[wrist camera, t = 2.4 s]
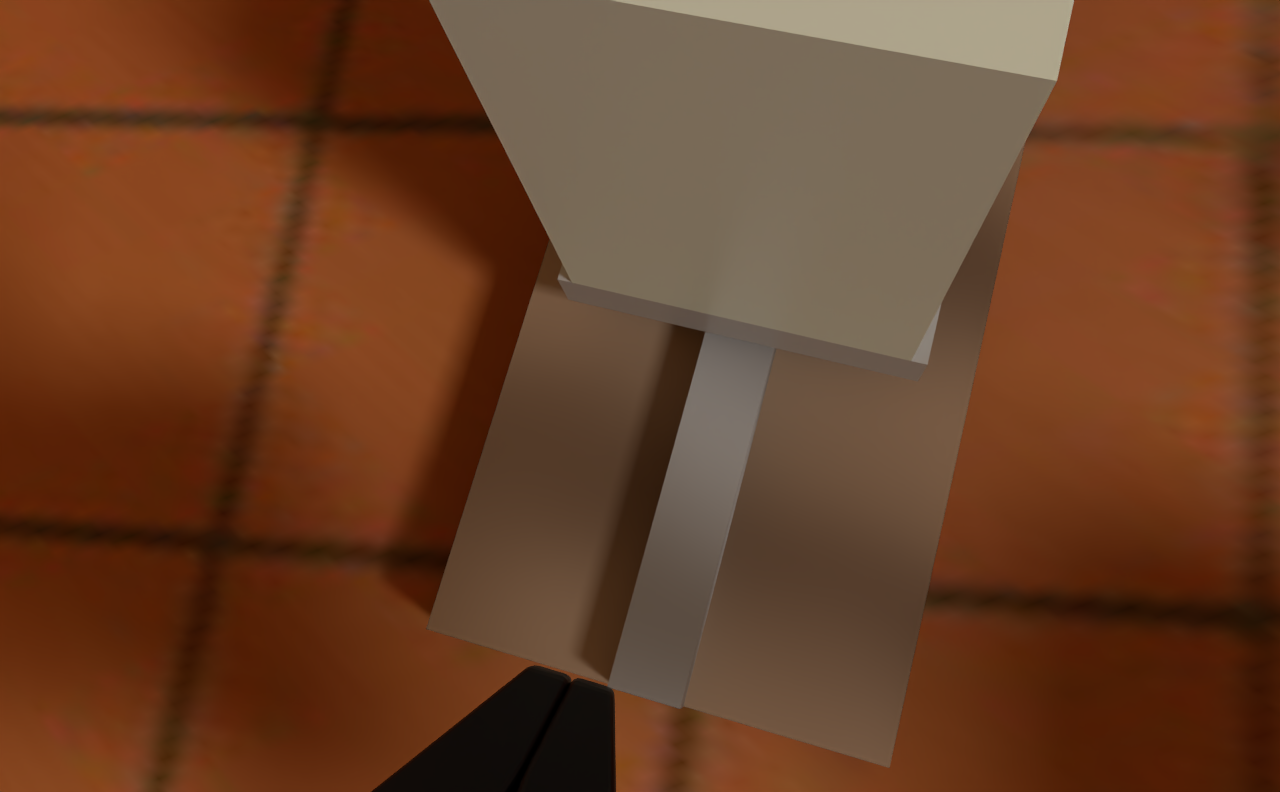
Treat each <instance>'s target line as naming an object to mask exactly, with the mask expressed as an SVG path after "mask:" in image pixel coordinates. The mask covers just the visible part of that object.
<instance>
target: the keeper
mask: <svg viewBox="0 0 1280 792" xmlns="http://www.w3.org/2000/svg"><path fill="white" fill-rule="evenodd" d="M429 1H430V3H431V5H432V7H433V9H434V11H435V13H436V15H437V17H438V19H439V21H440V23H441V25H442V27H443V29H444V31H445V33H446V35H447V37H448V39H449V41H450V43H451V45H452V47H453V49H454V51H455V53H456V55H457V57H458V58H459V60H460V62H461V64H462V66H463V68H464V70H465V72H466V74H467V76H468V78H469V80H470V82H471V84H472V86H473V88H474V90H475V92H476V94H477V96H478V98H479V100H480V102H481V104H482V106H483V108H484V110H485V112H486V114H487V116H488V118H489V120H490V122H491V124H492V126H493V128H494V130H495V132H496V134H497V136H498V138H499V140H500V141H501V143H502V145H503V147H504V149H505V151H506V153H507V155H508V157H509V159H510V161H511V163H512V165H513V167H514V169H515V171H516V173H517V175H518V177H519V179H520V181H521V183H522V185H523V187H524V189H525V191H526V193H527V195H528V197H529V199H530V201H531V203H532V205H533V207H534V209H535V211H536V213H537V215H538V217H539V219H540V221H541V222H542V224H543V226H544V228H545V230H546V232H547V234H548V236H549V238H550V240H551V242H552V244H553V246H554V248H555V250H556V252H557V254H558V256H559V258H560V260H561V262H562V266H561V269H560V273H559V276H558V281H559V283H560V285H561V287H562V289H563V291H564V292H565V294H566V296H567V298H568V300H572V301H576V302H581V303H585V304H589V305H593V306H598V307H602V308H606V309H610V310H615V311H619V312H623V313H628V314H632V315H636V316H640V317H645V318H649V319H653V320H657V321H662V322H666V323H670V324H674V325H679V326H683V327H687V328H692V329H696V330H700V331H704V332H709V333H713V334H717V335H721V336H726V337H730V338H734V339H739V340H743V341H747V342H751V343H756V344H760V345H764V346H768V347H773V348H777V349H781V350H785V351H790V352H794V353H798V354H803V355H807V356H811V357H815V358H820V359H824V360H828V361H832V362H837V363H841V364H845V365H849V366H854V367H858V368H862V369H867V370H871V371H875V372H879V373H884V374H888V375H892V376H896V377H901V378H905V379H909V380H914V381H918V380H919V378H920V377H921V375H922V373H923V372H924V370H925V368H926V366H927V365H928V360H929V356H930V351H931V347H932V343H933V338H934V334H935V330H936V325H937V321H938V316H939V312H940V308H941V303H942V301H943V299H944V297H945V295H946V293H947V291H948V289H949V287H950V285H951V283H952V281H953V280H954V278H955V276H956V274H957V272H958V270H959V268H960V266H961V264H962V262H963V260H964V258H965V256H966V255H967V253H968V251H969V249H970V247H971V245H972V243H973V241H974V239H975V237H976V235H977V233H978V231H979V230H980V228H981V226H982V224H983V222H984V220H985V218H986V216H987V214H988V212H989V210H990V208H991V206H992V205H993V203H994V201H995V199H996V197H997V195H998V193H999V191H1000V189H1001V187H1002V185H1003V183H1004V181H1005V180H1006V178H1007V176H1008V174H1009V172H1010V170H1011V168H1012V166H1013V164H1014V162H1015V160H1016V158H1017V156H1018V155H1019V153H1020V151H1021V149H1022V147H1023V145H1024V143H1025V141H1026V139H1027V137H1028V135H1029V133H1030V132H1031V130H1032V128H1033V126H1034V124H1035V122H1036V120H1037V118H1038V116H1039V114H1040V112H1041V110H1042V108H1043V107H1044V105H1045V103H1046V101H1047V99H1048V97H1049V95H1050V93H1051V91H1052V89H1053V87H1054V85H1055V83H1056V82H1057V78H1058V73H1059V68H1060V64H1061V59H1062V54H1063V50H1064V45H1065V40H1066V36H1067V31H1068V26H1069V21H1070V17H1071V12H1072V7H1073V3H1074V0H429Z"/></svg>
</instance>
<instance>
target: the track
mask: <svg viewBox="0 0 1280 792" xmlns="http://www.w3.org/2000/svg"><path fill="white" fill-rule="evenodd" d="M1024 146H1025V143H1024V145H1023V147H1022V149H1021V151H1020V153H1019V155H1018V156H1017V158H1016V160H1015V162H1014V164H1013V166H1012V168H1011V170H1010V172H1009V174H1008V176H1007V178H1006V180H1005V181H1004V183H1003V185H1002V187H1001V189H1000V191H999V193H998V195H997V197H996V199H995V201H994V203H993V205H992V206H991V208H990V210H989V212H988V214H987V216H986V218H985V220H984V222H983V224H982V226H981V228H980V230H979V231H978V233H977V235H976V237H975V239H974V241H973V243H972V245H971V247H970V249H969V251H968V253H967V255H966V256H965V258H964V260H963V262H962V264H961V266H960V268H959V270H958V272H957V274H956V276H955V278H954V280H953V281H952V283H951V285H950V287H949V289H948V291H947V293H946V295H945V297H944V299H943V301H942V303H941V308H940V312H939V316H938V321H937V325H936V330H935V334H934V338H933V343H932V347H931V351H930V356H929V360H928V365H927V366H926V368H925V370H924V372H923V373H922V375H921V377H920V378H919V380H918V381H914V380H909V379H905V378H901V377H896V376H892V375H888V374H884V373H879V372H875V371H871V370H867V369H862V368H858V367H854V366H849V365H845V364H841V363H837V362H832V361H828V360H824V359H820V358H815V357H811V356H807V355H803V354H798V353H794V352H790V351H785V350H781V349H777V348H773V347H768V346H764V345H760V344H756V343H751V342H747V341H743V340H739V339H734V338H730V337H726V336H721V335H717V334H713V333H709V332H704V331H700V330H696V329H692V328H687V327H683V326H679V325H674V324H670V323H666V322H662V321H657V320H653V319H649V318H645V317H640V316H636V315H632V314H628V313H623V312H619V311H615V310H610V309H606V308H602V307H598V306H593V305H589V304H585V303H581V302H576V301H572V300H568V298H567V296H566V294H565V292H564V291H563V289H562V287H561V285H560V283H559V281H558V276H559V273H560V269H561V266H562V262H561V260H560V258H559V256H558V254H557V252H556V250H555V248H554V246H553V244H552V242H551V240H550V239H549V242H548V245H547V248H546V252H545V255H544V258H543V261H542V264H541V267H540V271H539V274H538V277H537V280H536V283H535V286H534V290H533V293H532V296H531V299H530V302H529V305H528V309H527V312H526V315H525V318H524V321H523V324H522V328H521V331H520V334H519V337H518V340H517V343H516V346H515V350H514V353H513V356H512V359H511V362H510V365H509V369H508V372H507V375H506V378H505V381H504V384H503V388H502V391H501V394H500V397H499V400H498V403H497V407H496V410H495V413H494V416H493V419H492V422H491V426H490V429H489V432H488V435H487V438H486V441H485V445H484V448H483V451H482V454H481V457H480V460H479V463H478V467H477V470H476V473H475V476H474V479H473V482H472V486H471V489H470V492H469V495H468V498H467V501H466V505H465V508H464V511H463V514H462V517H461V520H460V524H459V527H458V530H457V533H456V536H455V539H454V543H453V546H452V549H451V552H450V555H449V558H448V562H447V565H446V568H445V571H444V574H443V577H442V580H441V584H440V587H439V590H438V593H437V596H436V599H435V603H434V606H433V609H432V612H431V615H430V618H429V622H428V625H427V628H426V629H427V630H431V631H434V632H438V633H441V634H444V635H448V636H451V637H454V638H458V639H461V640H464V641H468V642H471V643H474V644H478V645H481V646H484V647H488V648H491V649H494V650H498V651H501V652H504V653H508V654H511V655H514V656H518V657H521V658H524V659H528V660H531V661H534V662H538V663H541V664H544V665H548V666H551V667H554V668H558V669H561V670H564V671H568V672H571V673H574V674H578V675H581V676H584V677H588V678H591V679H594V680H598V681H601V682H604V683H608V687H610V688H612V689H616V690H619V691H622V692H626V693H629V694H632V695H636V696H639V697H642V698H646V699H649V700H652V701H656V702H659V703H662V704H666V705H669V706H672V707H676V708H679V709H680V708H682V707H683V706H684V707H688V708H691V709H694V710H698V711H701V712H705V713H708V714H711V715H715V716H718V717H721V718H725V719H728V720H731V721H735V722H738V723H741V724H745V725H748V726H751V727H755V728H758V729H761V730H765V731H768V732H771V733H775V734H778V735H781V736H785V737H788V738H791V739H795V740H798V741H801V742H805V743H808V744H811V745H815V746H818V747H821V748H825V749H828V750H831V751H835V752H838V753H841V754H845V755H848V756H851V757H855V758H858V759H861V760H865V761H868V762H871V763H875V764H878V765H881V766H885V767H888V768H890V763H891V759H892V754H893V749H894V745H895V740H896V736H897V731H898V726H899V722H900V717H901V713H902V708H903V703H904V699H905V694H906V690H907V685H908V680H909V676H910V671H911V667H912V662H913V657H914V653H915V648H916V643H917V639H918V634H919V630H920V625H921V620H922V616H923V611H924V607H925V602H926V597H927V593H928V588H929V584H930V579H931V574H932V570H933V565H934V561H935V556H936V551H937V547H938V542H939V538H940V533H941V528H942V524H943V519H944V514H945V510H946V505H947V501H948V496H949V491H950V487H951V482H952V478H953V473H954V468H955V464H956V459H957V455H958V450H959V445H960V441H961V436H962V432H963V427H964V422H965V418H966V413H967V408H968V404H969V399H970V395H971V390H972V385H973V381H974V376H975V372H976V367H977V362H978V358H979V353H980V349H981V344H982V339H983V335H984V330H985V326H986V321H987V316H988V312H989V307H990V303H991V298H992V293H993V289H994V284H995V279H996V275H997V270H998V266H999V261H1000V256H1001V252H1002V247H1003V243H1004V238H1005V233H1006V229H1007V224H1008V220H1009V215H1010V210H1011V206H1012V201H1013V197H1014V192H1015V187H1016V183H1017V178H1018V173H1019V169H1020V164H1021V160H1022V155H1023V150H1024Z"/></svg>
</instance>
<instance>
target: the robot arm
mask: <svg viewBox="0 0 1280 792" xmlns="http://www.w3.org/2000/svg"><path fill="white" fill-rule="evenodd" d="M372 792H616V761H615V700H614V692H613V690H612V689H611V688H610V687H608V686H604V685H601V684H598V683H594V682H591V681H587V680H584V679H579V678H577V679H574V680H573V681H572V682H571V678H570V677H569V676H568V675H566V674H564V673H561V672H557V671H554V670H551V669H547V668H544V667H541V666H535V665H534V666H530V667H528V668H526V669H525V670H523V671H522V672H521V673H520V674H518V675H517V676H516V677H515V678H513V679H512V680H511V681H510V682H508V683H507V684H506V685H505V686H503V687H502V688H501V689H500V690H498V691H497V692H496V693H495V694H493V695H492V696H491V697H490V698H488V699H487V700H486V701H484V702H483V703H482V704H481V705H479V706H478V707H477V708H476V709H474V710H473V711H472V712H471V713H469V714H468V715H467V716H466V717H464V718H463V719H462V720H461V721H459V722H458V723H457V724H456V725H454V726H453V727H452V728H451V729H449V730H448V731H447V732H446V733H444V734H443V735H442V736H441V737H439V738H438V739H437V740H436V741H434V742H433V743H432V744H431V745H429V746H428V747H427V748H426V749H424V750H423V751H422V752H420V753H419V754H418V755H417V756H415V757H414V758H413V759H412V760H410V761H409V762H408V763H407V764H405V765H404V766H403V767H402V768H400V769H399V770H398V771H397V772H395V773H394V774H393V775H392V776H390V777H389V778H388V779H387V780H385V781H384V782H383V783H382V784H380V785H379V786H378V787H377V788H375V789H374V790H373V791H372Z"/></svg>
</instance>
